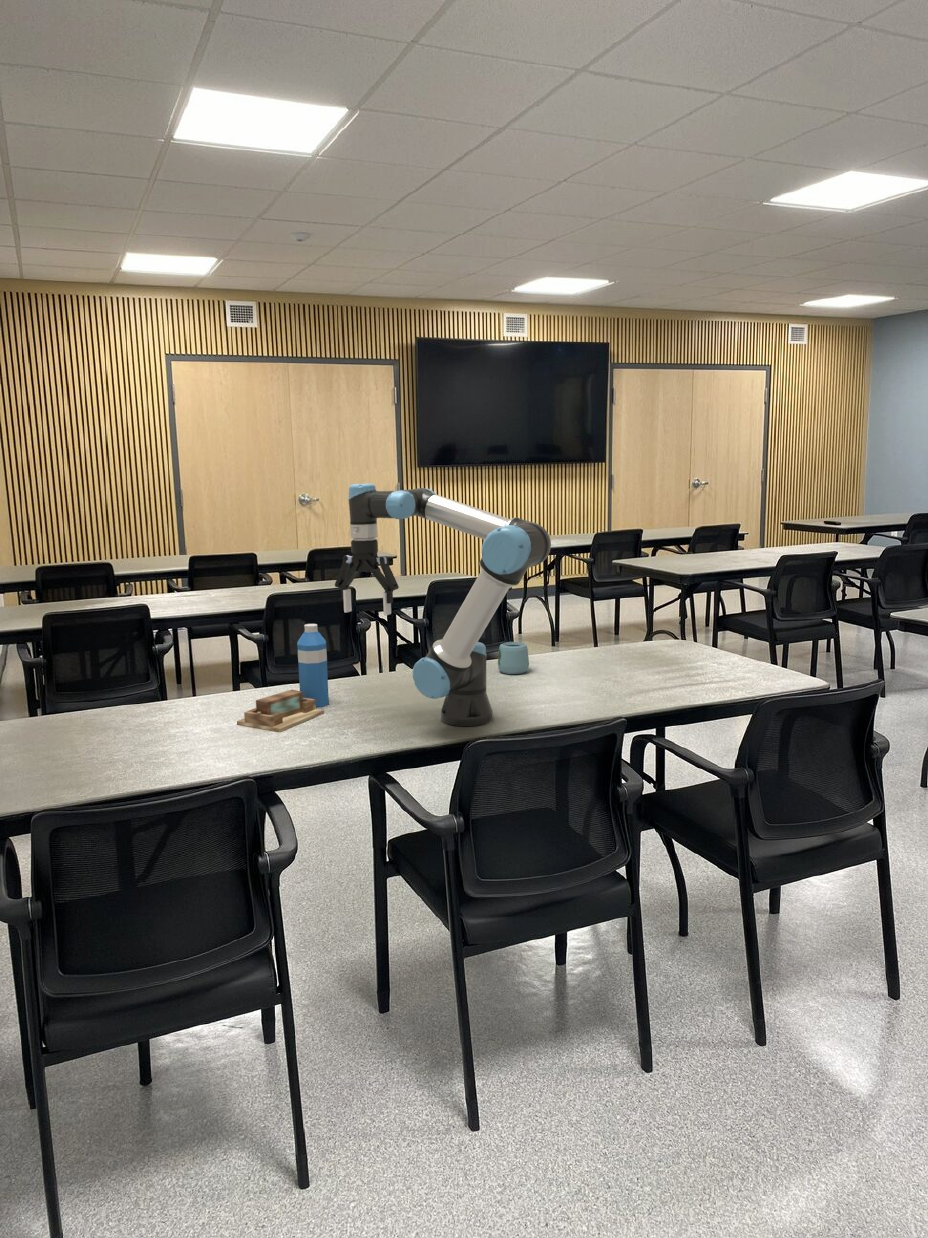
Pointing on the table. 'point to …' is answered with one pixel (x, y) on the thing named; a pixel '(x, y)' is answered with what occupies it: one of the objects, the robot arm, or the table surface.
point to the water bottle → (313, 666)
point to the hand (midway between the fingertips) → (367, 613)
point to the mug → (513, 658)
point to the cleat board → (280, 717)
